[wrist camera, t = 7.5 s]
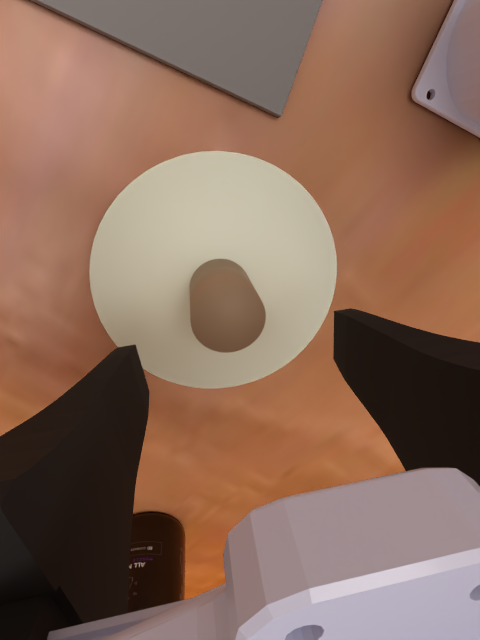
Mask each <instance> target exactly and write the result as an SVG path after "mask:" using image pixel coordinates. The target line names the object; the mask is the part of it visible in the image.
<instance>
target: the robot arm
mask: <svg viewBox="0 0 480 640" xmlns="http://www.w3.org/2000/svg"><path fill="white" fill-rule="evenodd" d="M428 91H429V92H430V94H431V96H430V99H429V100H428V99H427V97H426V95H427V92H428ZM412 99H413V100H414V101H415V102H416V103H418V104H420V105H422V106H423V107H425V108H427V109H429V110H431V111H432V112H434V113H436V114H438V115H440V116H441V117H443V118H445V119H447V120H449V121H450V122H452V123H454V124H456V125H458V126H459V127H461V128H463V129H465V130H467V131H468V132H470V133H472V134H474V135H476V136H477V137H479V138H480V0H454V2H453V4H452V6H451V8H450V10H449V12H448V14H447V16H446V19H445V21H444V23H443V25H442V27H441V29H440V31H439V33H438V35H437V38H436V40H435V42H434V44H433V46H432V48H431V50H430V52H429V55H428V57H427V59H426V61H425V63H424V65H423V67H422V69H421V72H420V74H419V76H418V78H417V80H416V82H415V84H414V86H413V89H412ZM334 360H335V362H336V364H337V366H338V368H339V370H340V372H341V374H342V376H343V378H344V379H345V381H346V382H347V384H348V385H349V386H350V388H351V389H352V391H353V392H354V393H355V395H356V396H357V397H358V399H359V400H360V401H361V403H362V404H363V405H364V407H365V408H366V409H367V411H368V412H369V413H370V415H371V416H372V417H373V419H374V420H375V421H376V423H377V424H378V425H379V427H380V428H381V430H382V431H383V433H384V434H385V436H386V437H387V439H388V441H389V442H390V444H391V446H392V447H393V449H394V451H395V453H396V454H397V456H398V458H399V459H400V461H401V463H402V465H403V466H404V468H405V470H406V471H405V472H400V473H395V474H391V475H386V476H381V477H377V478H372V479H367V480H363V481H358V482H353V483H349V484H344V485H339V486H335V487H330V488H325V489H321V490H316V491H311V492H307V493H302V494H297V495H293V496H288V497H283V498H280V499H278V500H275V501H273V502H270V503H268V504H265V505H263V506H260V507H258V508H255V509H253V510H251V511H250V512H249V513H248V514H247V515H246V516H245V517H244V518H243V519H242V520H241V521H240V522H239V523H238V524H237V525H236V526H235V527H234V528H233V529H232V530H231V531H230V532H229V533H228V535H227V540H226V545H225V550H224V554H223V559H224V570H225V580H226V583H224V584H222V585H220V586H218V587H216V588H213V589H211V590H209V591H207V592H205V593H202V594H200V595H198V596H196V597H194V598H190V599H186V600H182V601H178V602H173V603H169V604H165V605H161V606H156V607H152V608H148V609H144V610H139V611H135V612H131V613H128V588H129V566H130V547H131V532H132V517H133V505H134V493H135V484H136V477H137V471H138V466H139V461H140V456H141V451H142V446H143V441H144V436H145V431H146V425H147V420H148V410H149V389H148V385H147V382H146V379H145V375H144V372H143V368H142V365H141V361H140V358H139V354H138V351H137V347H136V344H135V345H129V346H123V347H118V348H116V349H115V350H114V351H112V352H111V353H110V354H109V355H108V356H107V357H106V358H105V359H104V360H102V361H101V362H100V363H99V364H98V365H97V366H96V367H95V368H94V369H93V370H92V371H90V372H89V373H88V374H87V375H86V376H85V377H84V378H83V379H81V380H80V381H79V382H78V383H77V384H75V385H74V386H73V387H72V388H71V389H69V390H68V391H67V392H66V393H65V394H63V395H62V396H61V397H60V398H58V399H57V400H56V401H54V402H53V403H52V404H50V405H49V406H48V407H46V408H45V409H43V410H42V411H40V412H39V413H37V414H36V415H35V416H33V417H32V418H30V419H28V420H27V421H25V422H24V423H22V424H20V425H19V426H17V427H15V428H14V429H12V430H10V431H9V432H7V433H5V434H4V435H2V436H0V640H480V343H478V342H472V341H467V340H461V339H457V338H452V337H447V336H442V335H438V334H434V333H430V332H427V331H423V330H420V329H416V328H412V327H409V326H406V325H403V324H400V323H396V322H393V321H390V320H387V319H384V318H381V317H378V316H375V315H372V314H369V313H366V312H363V311H359V310H355V309H345V310H339V311H334Z"/></svg>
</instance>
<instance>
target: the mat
mask: <svg viewBox="0 0 480 640" xmlns="http://www.w3.org/2000/svg"><path fill="white" fill-rule="evenodd" d="M31 1H33V2H35V3H37V4H39V5H41V6H43V7H46V8H48V9H50V10H52V11H54V12H56V13H58V14H60V15H62V16H65V17H67V18H69V19H71V20H73V21H75V22H77V23H79V24H82V25H84V26H86V27H88V28H90V29H92V30H94V31H96V32H98V33H101V34H103V35H105V36H107V37H109V38H111V39H113V40H115V41H118V42H120V43H122V44H124V45H126V46H128V47H130V48H132V49H135V50H137V51H139V52H141V53H143V54H145V55H147V56H149V57H151V58H154V59H156V60H158V61H160V62H162V63H164V64H166V65H168V66H171V67H173V68H175V69H177V70H179V71H181V72H183V73H185V74H187V75H190V76H192V77H194V78H196V79H198V80H200V81H202V82H204V83H207V84H209V85H211V86H213V87H215V88H217V89H219V90H221V91H224V92H226V93H228V94H230V95H232V96H234V97H236V98H238V99H240V100H243V101H245V102H247V103H249V104H251V105H253V106H255V107H257V108H260V109H262V110H264V111H266V112H268V113H270V114H272V115H274V116H276V117H281V116H282V113H283V110H284V108H285V105H286V102H287V99H288V96H289V93H290V91H291V88H292V85H293V82H294V79H295V77H296V74H297V71H298V68H299V65H300V62H301V60H302V57H303V54H304V51H305V48H306V46H307V43H308V40H309V37H310V34H311V31H312V29H313V26H314V23H315V20H316V17H317V15H318V12H319V9H320V6H321V3H322V1H323V0H31Z"/></svg>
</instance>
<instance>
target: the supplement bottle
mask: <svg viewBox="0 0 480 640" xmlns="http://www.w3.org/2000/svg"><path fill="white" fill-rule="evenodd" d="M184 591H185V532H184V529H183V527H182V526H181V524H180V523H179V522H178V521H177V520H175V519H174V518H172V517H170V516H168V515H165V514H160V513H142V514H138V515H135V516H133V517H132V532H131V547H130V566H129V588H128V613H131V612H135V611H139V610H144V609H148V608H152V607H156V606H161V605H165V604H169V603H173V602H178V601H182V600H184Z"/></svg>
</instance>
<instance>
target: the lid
mask: <svg viewBox="0 0 480 640" xmlns="http://www.w3.org/2000/svg"><path fill="white" fill-rule="evenodd" d="M336 276H337V258H336V250H335V245H334V240H333V237H332V233H331V230H330V227H329V225H328V222H327V220H326V218H325V216H324V214H323V212H322V210H321V209H320V207H319V206H318V204H317V203H316V201H315V200H314V198H313V197H312V196H311V195H310V194H309V193H308V191H307V190H306V189H305V188H304V187H303V186H302V185H301V184H300V183H299V182H297V181H296V180H295V179H294V178H293V177H291V176H290V175H289V174H288V173H286V172H284V171H283V170H281V169H279V168H278V167H276V166H275V165H273V164H270V163H268V162H266V161H263V160H261V159H259V158H256V157H252V156H249V155H245V154H241V153H235V152H226V151H203V152H196V153H191V154H185V155H181V156H178V157H175V158H172V159H170V160H167V161H164V162H162V163H160V164H158V165H156V166H154V167H152V168H150V169H149V170H147V171H145V172H144V173H143V174H141V175H140V176H139V177H137V178H136V179H134V180H133V181H132V182H131V183H130V184H129V185H128V186H127V187H126V188H125V189H124V190H123V191H122V192H121V193H120V194H119V195H118V196H117V197H116V199H115V200H114V201H113V203H112V204H111V205H110V207H109V208H108V209H107V211H106V213H105V215H104V217H103V219H102V221H101V223H100V225H99V227H98V230H97V233H96V236H95V238H94V241H93V246H92V251H91V256H90V272H89V277H90V286H91V293H92V297H93V301H94V305H95V309H96V311H97V314H98V316H99V318H100V321H101V323H102V325H103V326H104V328H105V330H106V332H107V333H108V335H109V336H110V338H111V339H112V340H113V342H114V343H115V344H116V346H117V347H123V346H129V345H135V344H136V347H137V351H138V354H139V358H140V361H141V365H142V368H143V369H144V370H146V371H148V372H149V373H151V374H153V375H155V376H157V377H159V378H161V379H164V380H166V381H169V382H172V383H175V384H179V385H183V386H188V387H194V388H205V389H212V388H227V387H234V386H239V385H243V384H247V383H250V382H253V381H256V380H259V379H261V378H263V377H265V376H267V375H270V374H272V373H274V372H275V371H277V370H278V369H280V368H282V367H283V366H285V365H286V364H287V363H289V362H290V361H291V360H293V359H294V358H295V357H296V356H297V355H298V354H299V353H300V352H301V351H302V350H303V349H304V348H305V347H306V346H307V345H308V344H309V343H310V341H311V340H312V339H313V338H314V336H315V335H316V333H317V332H318V330H319V329H320V327H321V326H322V324H323V322H324V320H325V318H326V315H327V313H328V311H329V308H330V305H331V302H332V300H333V295H334V291H335V286H336Z"/></svg>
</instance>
